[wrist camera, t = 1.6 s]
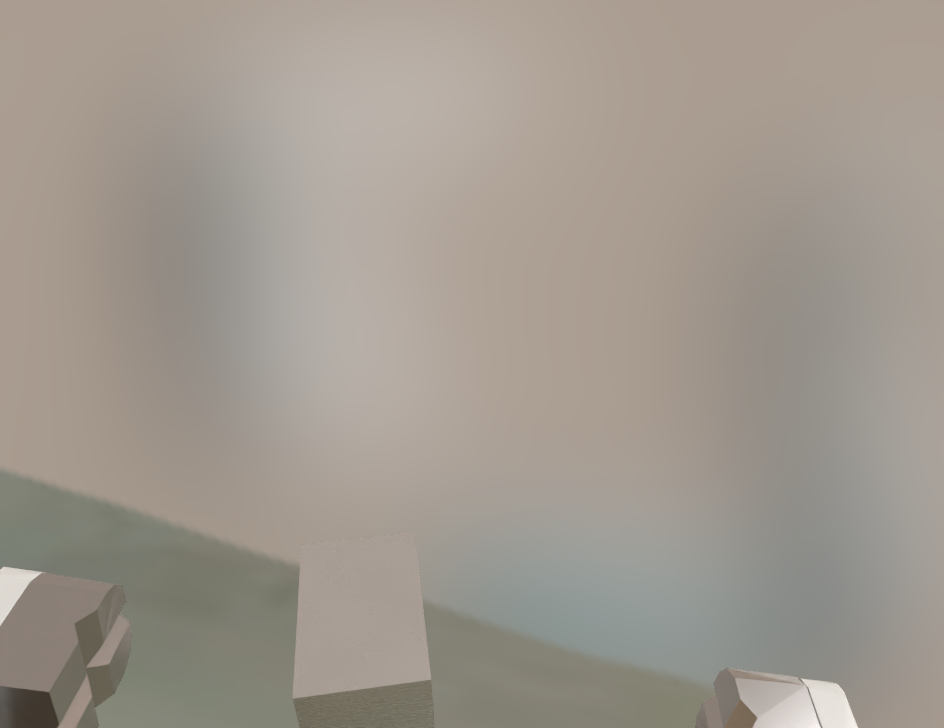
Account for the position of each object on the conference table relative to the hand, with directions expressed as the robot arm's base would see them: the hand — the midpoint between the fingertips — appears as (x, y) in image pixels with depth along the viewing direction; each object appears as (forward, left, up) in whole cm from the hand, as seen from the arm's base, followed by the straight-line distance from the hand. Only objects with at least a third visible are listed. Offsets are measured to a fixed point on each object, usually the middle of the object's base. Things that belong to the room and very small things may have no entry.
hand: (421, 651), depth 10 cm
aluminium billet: (+10, +2, -23) cm, 25 cm away
